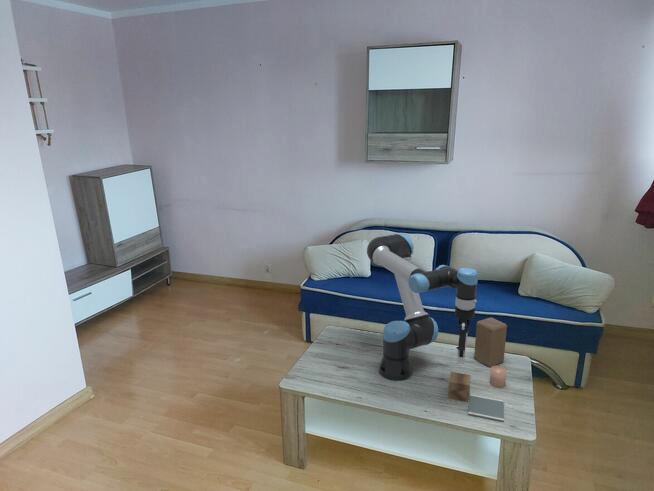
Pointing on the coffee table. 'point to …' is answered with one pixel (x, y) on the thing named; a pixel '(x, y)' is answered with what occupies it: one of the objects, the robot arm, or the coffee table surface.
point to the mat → (486, 408)
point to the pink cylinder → (498, 376)
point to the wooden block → (490, 341)
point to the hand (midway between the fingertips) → (461, 355)
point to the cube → (459, 386)
